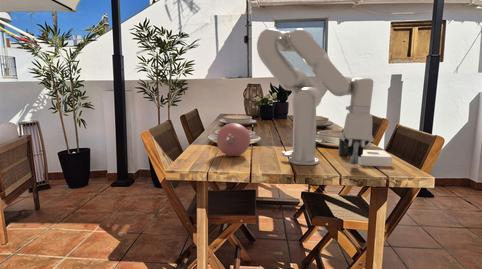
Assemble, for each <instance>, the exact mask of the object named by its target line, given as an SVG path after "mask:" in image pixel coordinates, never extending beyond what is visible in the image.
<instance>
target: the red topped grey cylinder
mask: <svg viewBox="0 0 482 269" xmlns="http://www.w3.org/2000/svg"><path fill="white" fill-rule="evenodd" d="M359 148H360V140H357V139H353V140H352V156H349V157H350V159H349V164H351V165H358V164H359V163H358V157H359Z"/></svg>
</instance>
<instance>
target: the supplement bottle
mask: <svg viewBox="0 0 482 269" xmlns="http://www.w3.org/2000/svg"><path fill="white" fill-rule="evenodd" d="M343 131H344V128H343V129H341V133H342V132H343ZM344 138H346V137H345V136H344ZM346 139H347V138H346ZM347 140H348V139H347ZM347 149H348V145H347V144H346V142H345V141H343V140H341V139H340V138H338V155H339V156H342V157H350V156H349V155H348V154H347Z"/></svg>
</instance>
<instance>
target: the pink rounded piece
mask: <svg viewBox="0 0 482 269" xmlns="http://www.w3.org/2000/svg"><path fill="white" fill-rule="evenodd" d="M250 143H251V136H250V133H249V131H248V129H247V128H246V127H245V126H243V125H242V124H241V123H237V122H229V123H227V124H225V125H222V127H221V128H219V131H218V133H217V136H216V145H217V147H218V149H219V150H220V151H221V153H222V154H224V155H226V156H228V157H232V156H235V157H238V156H241V155H243V154H244V153H246V152H247V150H248V148H249V147H250Z"/></svg>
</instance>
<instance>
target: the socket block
mask: <svg viewBox="0 0 482 269" xmlns="http://www.w3.org/2000/svg"><path fill="white" fill-rule="evenodd" d="M392 163H393V156H391V155H390V154H389V153H388V152H386V151H385V150H379V149H378V150H376V149H375V150H374V149H372V150H371V149H363V155H361V157H358V164H359V165H360V166H366V167H367V166H368V167H369V166H373V167H391V168H392V165H393V164H392Z"/></svg>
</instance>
